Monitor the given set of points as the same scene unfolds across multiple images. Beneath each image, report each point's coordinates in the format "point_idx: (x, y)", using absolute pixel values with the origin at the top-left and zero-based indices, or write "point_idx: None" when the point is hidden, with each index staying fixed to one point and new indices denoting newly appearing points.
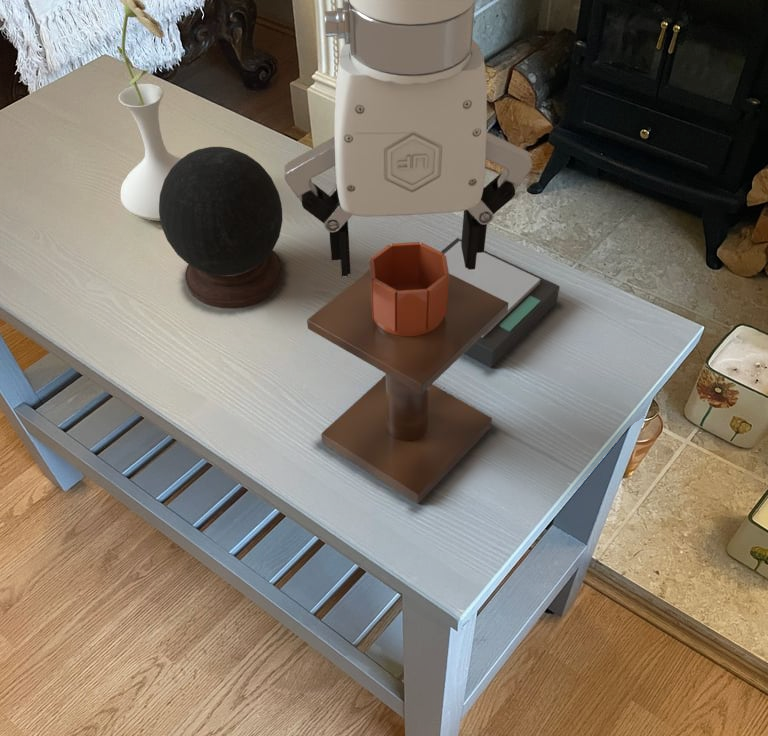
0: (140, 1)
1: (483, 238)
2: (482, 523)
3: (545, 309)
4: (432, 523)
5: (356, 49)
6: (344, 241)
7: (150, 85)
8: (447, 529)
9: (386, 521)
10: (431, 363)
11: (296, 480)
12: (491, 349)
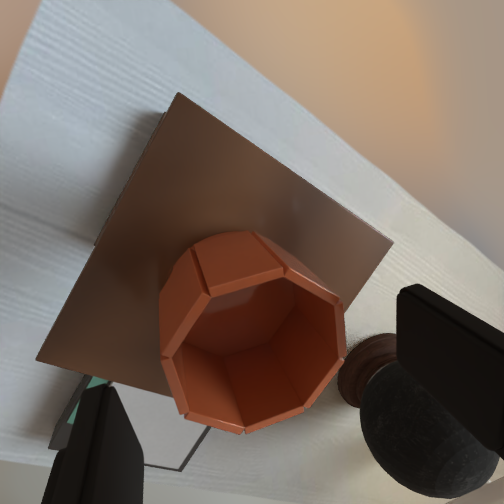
0: None
1: (49, 499)
2: (76, 88)
3: (63, 415)
4: (141, 84)
5: None
6: (501, 343)
7: None
8: (120, 75)
9: (197, 83)
10: (167, 163)
11: (301, 135)
12: None
